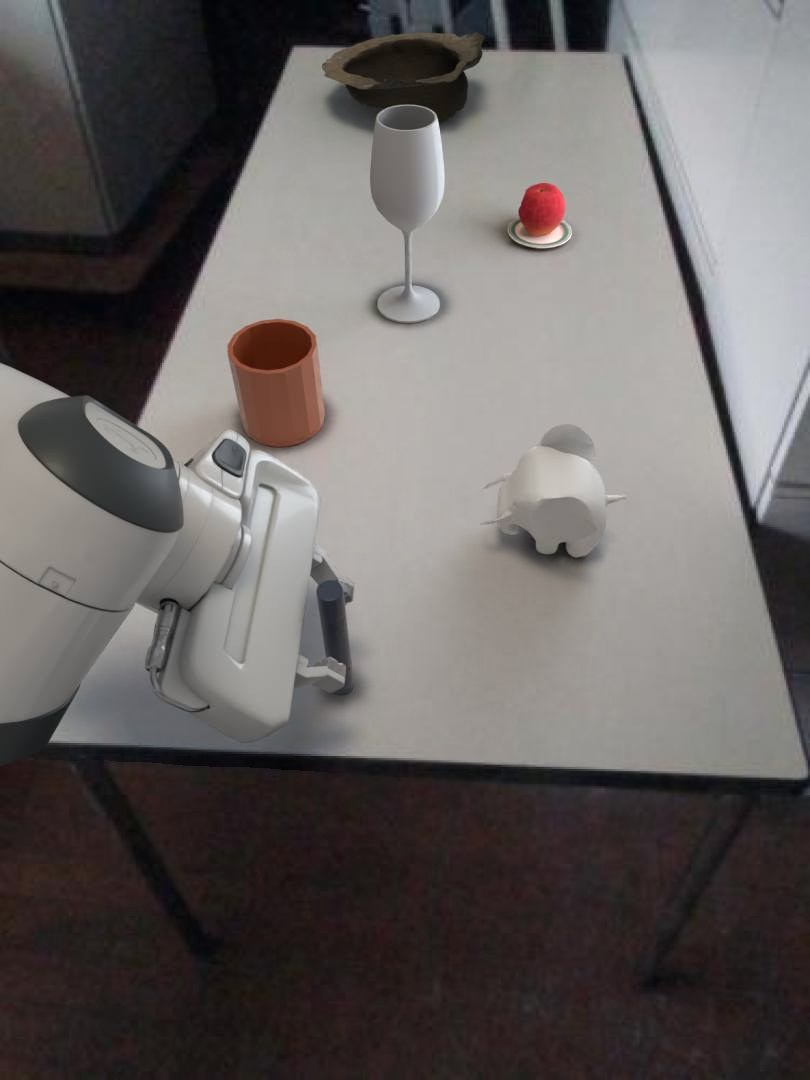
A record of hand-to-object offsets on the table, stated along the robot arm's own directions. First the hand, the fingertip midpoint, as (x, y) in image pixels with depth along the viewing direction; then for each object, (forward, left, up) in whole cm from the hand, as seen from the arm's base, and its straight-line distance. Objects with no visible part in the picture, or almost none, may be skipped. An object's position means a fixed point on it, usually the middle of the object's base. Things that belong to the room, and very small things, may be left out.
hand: (344, 636), depth 60 cm
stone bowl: (+58, +87, -7) cm, 105 cm away
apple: (+52, +44, -7) cm, 69 cm away
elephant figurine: (+22, +4, -7) cm, 24 cm away
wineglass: (+30, +40, -7) cm, 51 cm away
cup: (+9, +30, -7) cm, 33 cm away
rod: (-1, 0, -7) cm, 7 cm away
